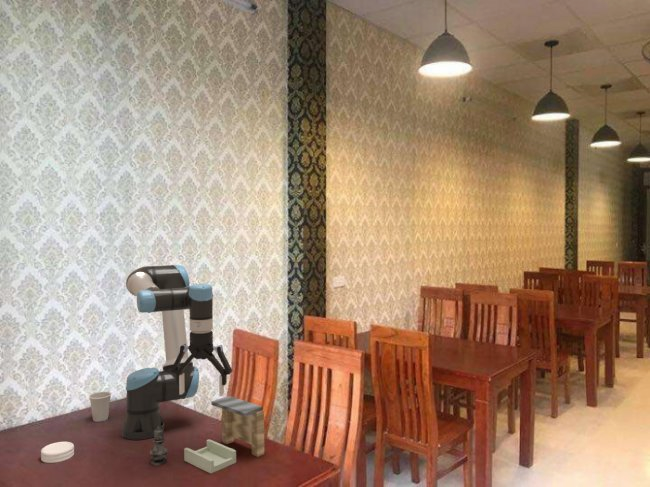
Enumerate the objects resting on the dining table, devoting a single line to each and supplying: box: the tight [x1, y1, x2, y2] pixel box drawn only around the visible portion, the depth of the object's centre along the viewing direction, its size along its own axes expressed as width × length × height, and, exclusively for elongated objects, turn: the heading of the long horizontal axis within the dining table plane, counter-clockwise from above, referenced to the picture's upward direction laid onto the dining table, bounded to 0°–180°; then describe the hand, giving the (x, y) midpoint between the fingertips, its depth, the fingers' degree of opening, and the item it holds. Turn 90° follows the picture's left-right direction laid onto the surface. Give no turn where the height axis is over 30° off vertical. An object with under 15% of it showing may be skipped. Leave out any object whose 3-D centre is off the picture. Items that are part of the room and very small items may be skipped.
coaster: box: [40, 441, 75, 464], centre depth 176 cm, size 10×10×4 cm
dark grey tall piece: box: [149, 426, 169, 466], centre depth 171 cm, size 6×6×12 cm
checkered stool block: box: [211, 395, 265, 457], centre depth 180 cm, size 19×8×16 cm, turn 49°
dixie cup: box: [88, 391, 112, 423], centre depth 210 cm, size 8×8×10 cm
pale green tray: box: [183, 438, 237, 475], centre depth 171 cm, size 14×10×4 cm
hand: (201, 394), depth 173 cm, fingers open, 13 cm apart
